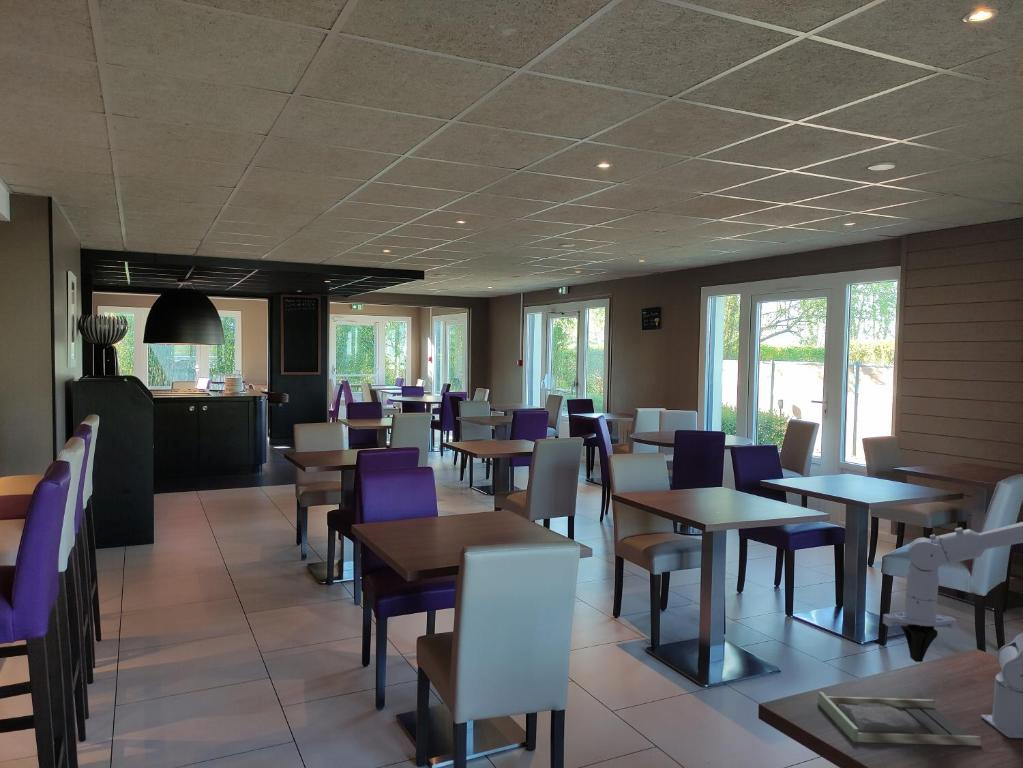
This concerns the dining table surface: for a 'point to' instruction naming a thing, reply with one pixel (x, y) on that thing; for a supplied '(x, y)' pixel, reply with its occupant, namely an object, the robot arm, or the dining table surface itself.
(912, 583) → the robot arm
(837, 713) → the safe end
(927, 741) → the grey cream flat frame
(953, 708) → the dining table surface
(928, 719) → the tiles
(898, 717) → the stone block
